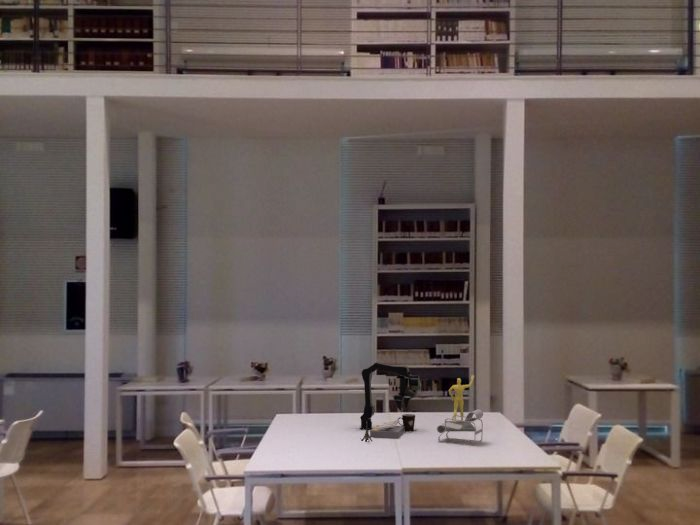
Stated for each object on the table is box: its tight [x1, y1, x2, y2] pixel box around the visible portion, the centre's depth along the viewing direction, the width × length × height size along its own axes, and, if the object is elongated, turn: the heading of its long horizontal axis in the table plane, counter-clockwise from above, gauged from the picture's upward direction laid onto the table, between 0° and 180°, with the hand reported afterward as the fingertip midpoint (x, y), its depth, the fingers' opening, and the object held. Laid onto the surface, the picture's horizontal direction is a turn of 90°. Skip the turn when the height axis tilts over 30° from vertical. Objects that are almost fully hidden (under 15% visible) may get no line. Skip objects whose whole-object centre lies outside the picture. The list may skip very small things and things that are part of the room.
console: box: [369, 424, 406, 440], centre depth 509 cm, size 18×22×5 cm
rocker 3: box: [379, 424, 397, 429], centre depth 502 cm, size 10×4×1 cm, turn 77°
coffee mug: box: [397, 413, 416, 432], centre depth 524 cm, size 12×9×10 cm
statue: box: [446, 375, 476, 432], centre depth 531 cm, size 20×19×36 cm
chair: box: [436, 408, 484, 446], centre depth 486 cm, size 13×25×20 cm, turn 62°
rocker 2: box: [380, 422, 399, 426], centre depth 509 cm, size 10×4×1 cm, turn 77°
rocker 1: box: [382, 419, 400, 424], centre depth 515 cm, size 10×4×1 cm, turn 77°
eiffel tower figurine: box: [361, 422, 373, 443], centre depth 490 cm, size 15×10×13 cm
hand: (403, 409), depth 523 cm, fingers open, 9 cm apart
